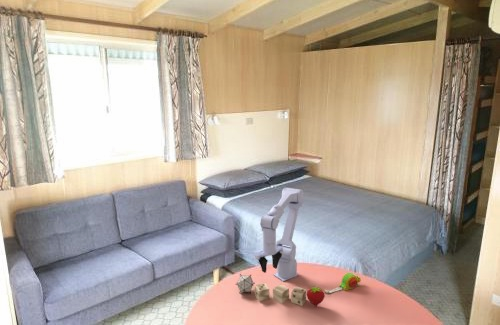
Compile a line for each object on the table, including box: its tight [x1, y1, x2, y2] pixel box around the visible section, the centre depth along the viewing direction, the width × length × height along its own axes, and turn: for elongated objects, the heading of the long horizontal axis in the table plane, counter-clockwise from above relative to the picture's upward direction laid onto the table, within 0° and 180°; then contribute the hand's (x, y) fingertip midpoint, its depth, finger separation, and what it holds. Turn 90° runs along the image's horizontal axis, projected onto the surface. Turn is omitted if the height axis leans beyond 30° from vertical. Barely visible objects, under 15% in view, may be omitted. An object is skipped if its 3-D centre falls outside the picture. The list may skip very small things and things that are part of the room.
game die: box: [235, 273, 256, 295], centre depth 156 cm, size 9×8×10 cm
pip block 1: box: [254, 282, 270, 302], centre depth 152 cm, size 5×5×5 cm
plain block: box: [272, 284, 290, 304], centre depth 151 cm, size 5×5×5 cm
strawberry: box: [306, 285, 326, 307], centre depth 144 cm, size 6×8×10 cm
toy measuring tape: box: [323, 272, 362, 295], centre depth 158 cm, size 6×20×7 cm, turn 113°
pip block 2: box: [290, 286, 307, 307], centre depth 149 cm, size 5×5×5 cm
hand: (269, 269), depth 156 cm, fingers open, 6 cm apart
